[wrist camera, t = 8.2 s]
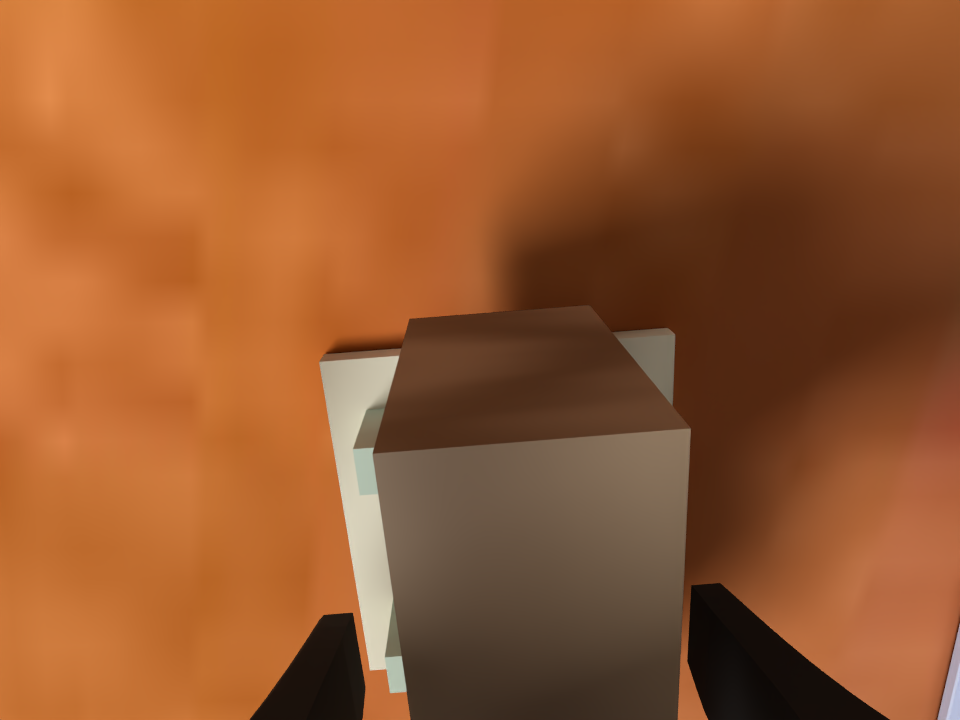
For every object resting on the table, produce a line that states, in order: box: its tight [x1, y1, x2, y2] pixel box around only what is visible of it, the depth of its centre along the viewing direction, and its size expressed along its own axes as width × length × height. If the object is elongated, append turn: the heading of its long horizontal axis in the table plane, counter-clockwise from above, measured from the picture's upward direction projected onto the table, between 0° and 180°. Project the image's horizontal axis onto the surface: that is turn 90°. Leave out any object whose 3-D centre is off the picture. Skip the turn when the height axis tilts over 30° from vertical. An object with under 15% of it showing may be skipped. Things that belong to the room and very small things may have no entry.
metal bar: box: [372, 305, 691, 720], centre depth 12 cm, size 4×13×6 cm, turn 4°
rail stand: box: [319, 328, 675, 693], centre depth 17 cm, size 9×10×3 cm
